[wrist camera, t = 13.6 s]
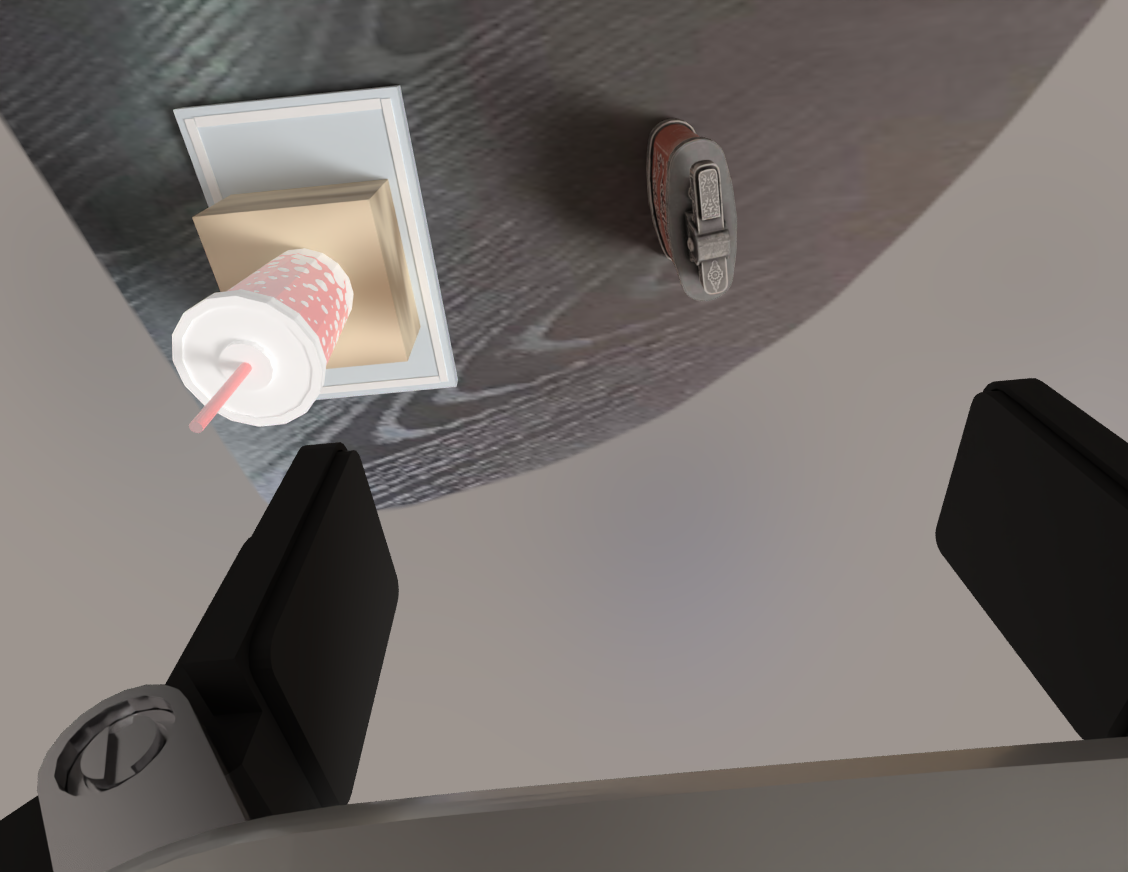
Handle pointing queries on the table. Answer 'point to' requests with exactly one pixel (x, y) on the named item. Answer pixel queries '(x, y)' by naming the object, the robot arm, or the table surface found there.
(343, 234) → the maple block
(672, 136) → the lighter
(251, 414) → the beverage cup
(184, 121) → the white tray
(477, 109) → the table surface
